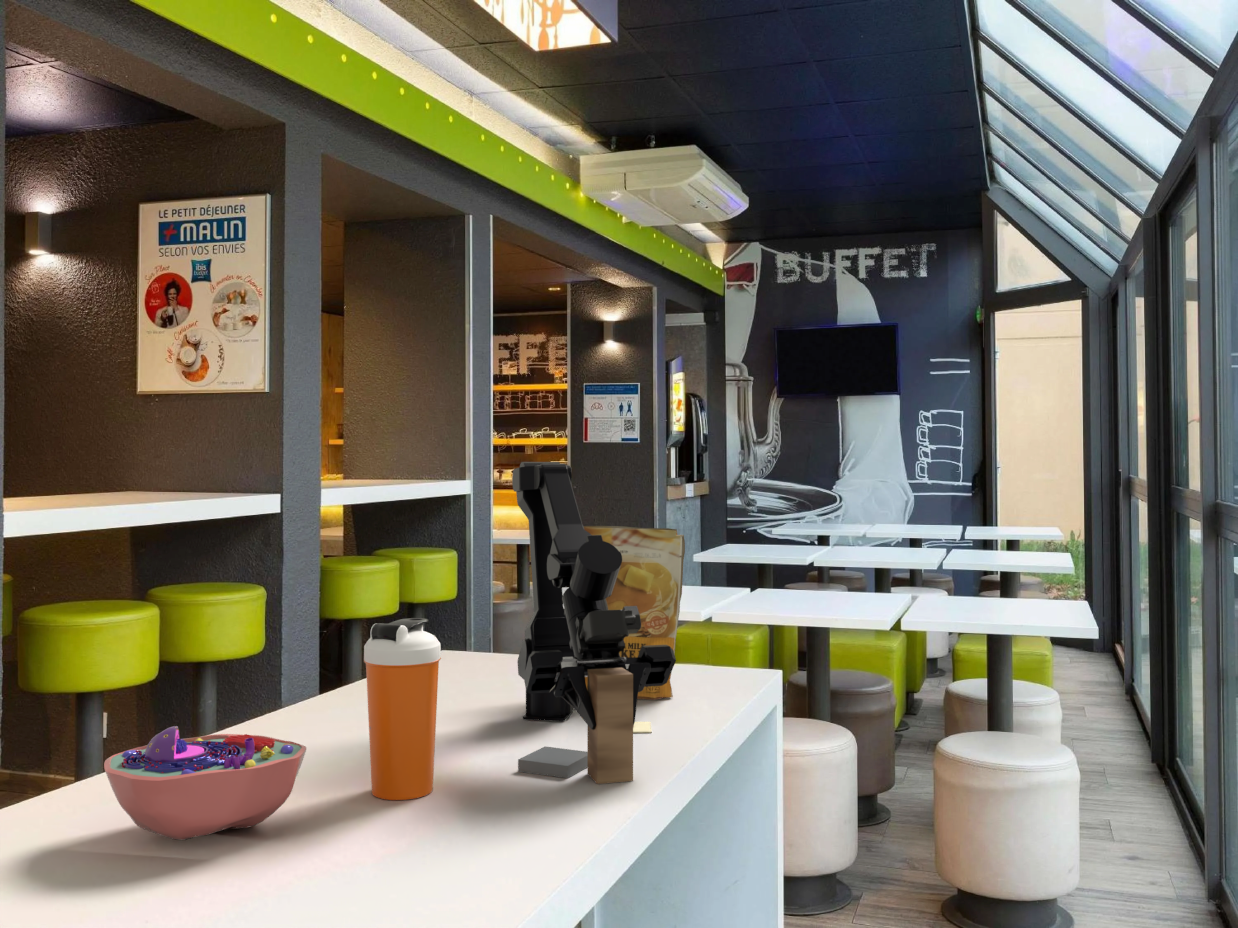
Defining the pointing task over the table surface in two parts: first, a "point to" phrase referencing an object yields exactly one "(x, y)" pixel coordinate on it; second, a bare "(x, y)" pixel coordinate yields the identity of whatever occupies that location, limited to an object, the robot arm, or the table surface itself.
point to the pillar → (611, 725)
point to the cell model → (203, 781)
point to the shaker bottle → (402, 707)
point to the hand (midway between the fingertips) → (613, 726)
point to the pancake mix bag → (647, 588)
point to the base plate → (554, 762)
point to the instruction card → (642, 727)
